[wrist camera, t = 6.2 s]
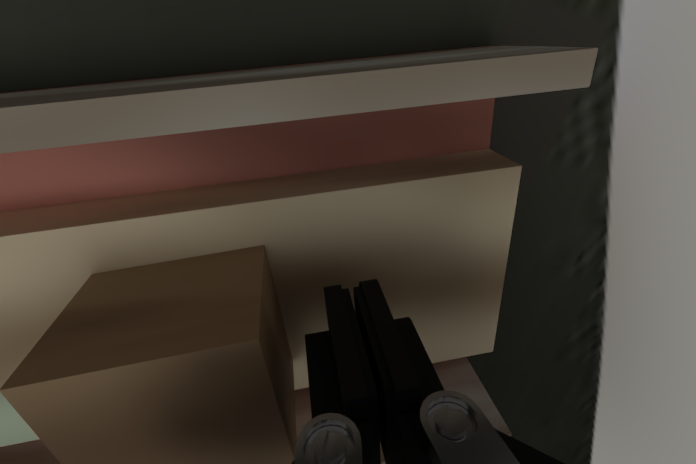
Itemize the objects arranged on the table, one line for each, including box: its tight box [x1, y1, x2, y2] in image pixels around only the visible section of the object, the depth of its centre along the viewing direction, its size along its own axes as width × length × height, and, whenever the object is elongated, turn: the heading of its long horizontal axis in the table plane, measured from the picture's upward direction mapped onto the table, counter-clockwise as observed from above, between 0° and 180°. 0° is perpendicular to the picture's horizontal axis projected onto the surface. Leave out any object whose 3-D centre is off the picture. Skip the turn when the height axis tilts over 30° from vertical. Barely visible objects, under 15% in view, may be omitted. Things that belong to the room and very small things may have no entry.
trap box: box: [0, 45, 598, 464], centre depth 12 cm, size 15×25×6 cm, turn 95°
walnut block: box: [0, 245, 297, 464], centre depth 10 cm, size 5×5×4 cm
